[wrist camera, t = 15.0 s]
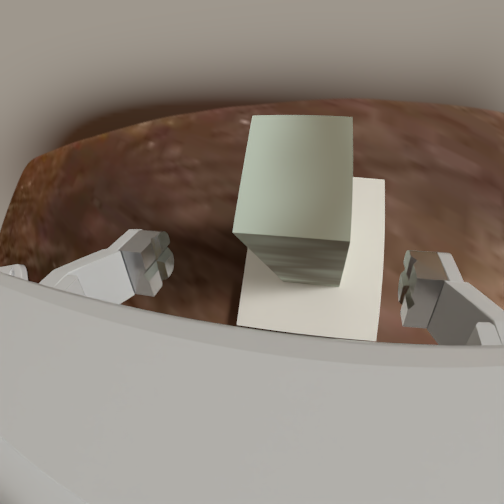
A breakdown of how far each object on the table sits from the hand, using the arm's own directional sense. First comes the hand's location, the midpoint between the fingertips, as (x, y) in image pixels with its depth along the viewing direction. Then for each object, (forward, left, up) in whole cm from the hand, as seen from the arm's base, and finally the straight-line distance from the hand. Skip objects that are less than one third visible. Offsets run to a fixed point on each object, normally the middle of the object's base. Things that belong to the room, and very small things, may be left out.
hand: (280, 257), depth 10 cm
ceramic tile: (0, +3, -13) cm, 13 cm away
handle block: (0, +3, -12) cm, 12 cm away
